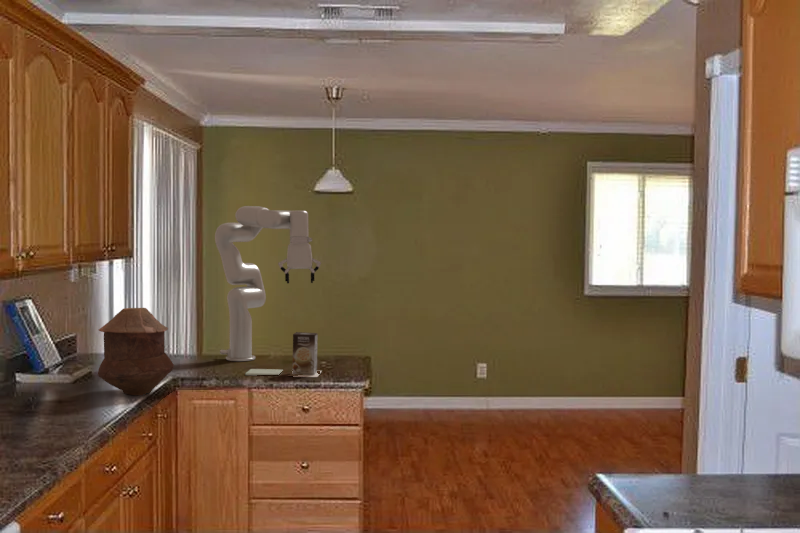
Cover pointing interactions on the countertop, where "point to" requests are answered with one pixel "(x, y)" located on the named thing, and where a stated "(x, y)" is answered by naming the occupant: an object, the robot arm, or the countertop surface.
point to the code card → (308, 375)
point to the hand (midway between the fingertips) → (300, 283)
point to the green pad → (264, 372)
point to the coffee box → (305, 353)
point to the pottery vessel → (134, 352)
